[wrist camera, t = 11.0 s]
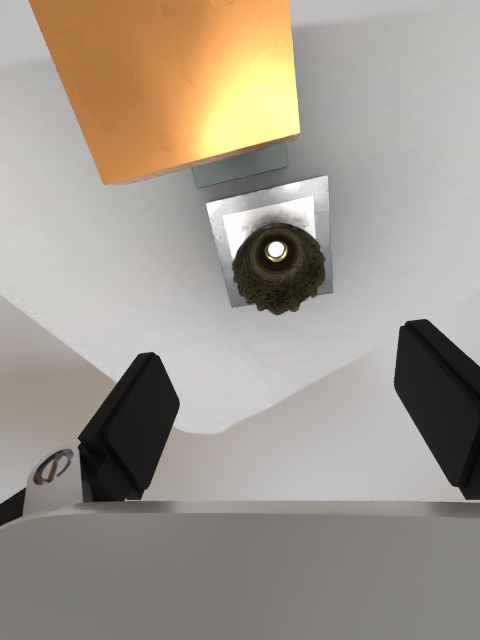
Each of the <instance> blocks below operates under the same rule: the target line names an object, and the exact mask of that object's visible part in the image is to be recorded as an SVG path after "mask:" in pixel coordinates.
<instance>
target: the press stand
mask: <svg viewBox="0 0 480 640" xmlns="http://www.w3.org/2000/svg"><path fill="white" fill-rule="evenodd" d="M287 166H288V162H287V152H286V143H282V144H278V145H274V146H270V147H267V148H263V149H259V150H255V151H252V152H248V153H244V154H240V155H236V156H233V157H229V158H225V159H221V160H218V161H214V162H210V163H206V164H202V165H199V166H195V167H191V168H192V171H193V175H194V179H195V183H196V187H197V188H202V187H206V186H210V185H215V184H219V183H223V182H227V181H231V180H235V179H239V178H243V177H247V176H251V175H255V174H259V173H263V172H267V171H271V170H275V169H279V168H284V167H287Z"/></svg>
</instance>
